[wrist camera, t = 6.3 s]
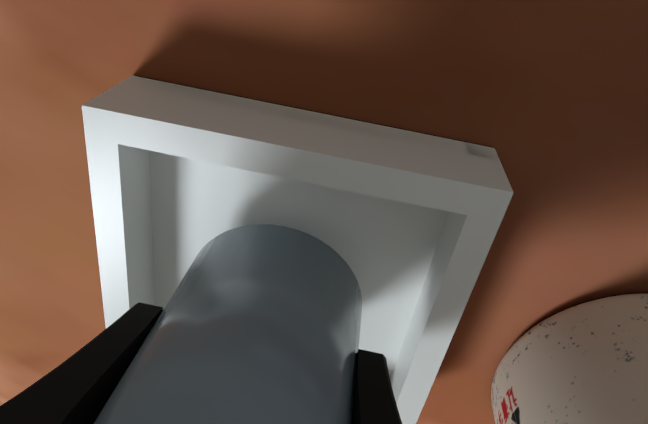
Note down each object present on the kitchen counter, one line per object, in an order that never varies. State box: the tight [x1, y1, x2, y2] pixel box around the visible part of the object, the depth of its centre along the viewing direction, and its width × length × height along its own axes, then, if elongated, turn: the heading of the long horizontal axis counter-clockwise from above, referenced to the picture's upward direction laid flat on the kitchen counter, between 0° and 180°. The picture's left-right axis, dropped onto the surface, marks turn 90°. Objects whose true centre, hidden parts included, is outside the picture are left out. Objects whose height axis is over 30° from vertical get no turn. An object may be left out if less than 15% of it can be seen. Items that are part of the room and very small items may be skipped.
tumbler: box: [94, 224, 362, 424], centre depth 11 cm, size 5×5×7 cm
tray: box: [82, 76, 514, 424], centre depth 15 cm, size 10×10×2 cm
